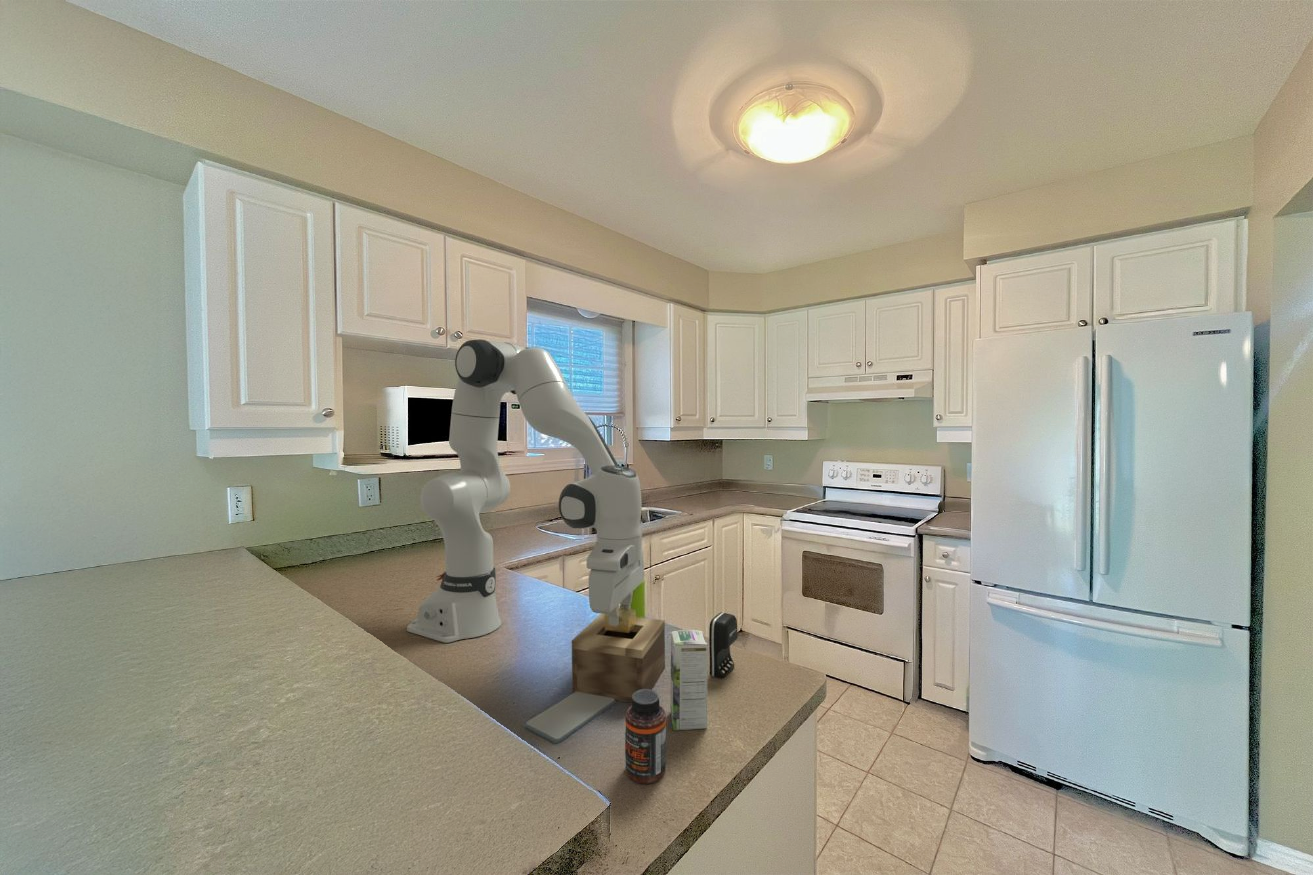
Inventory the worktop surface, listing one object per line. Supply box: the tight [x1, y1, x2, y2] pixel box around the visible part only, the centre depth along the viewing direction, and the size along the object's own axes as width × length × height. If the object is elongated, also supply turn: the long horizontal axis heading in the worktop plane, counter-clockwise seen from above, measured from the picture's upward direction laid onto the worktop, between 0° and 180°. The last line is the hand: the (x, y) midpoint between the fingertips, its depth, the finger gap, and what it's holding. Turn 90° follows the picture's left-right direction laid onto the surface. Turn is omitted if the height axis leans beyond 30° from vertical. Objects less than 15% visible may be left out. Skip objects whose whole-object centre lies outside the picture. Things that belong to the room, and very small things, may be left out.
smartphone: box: [524, 692, 617, 744], centre depth 88 cm, size 8×1×15 cm
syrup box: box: [669, 629, 709, 731], centre depth 86 cm, size 6×6×14 cm
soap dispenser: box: [619, 579, 646, 618], centre depth 121 cm, size 6×7×20 cm
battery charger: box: [708, 612, 739, 679], centre depth 102 cm, size 7×4×11 cm, turn 149°
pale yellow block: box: [605, 607, 636, 633], centre depth 99 cm, size 5×4×3 cm
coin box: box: [571, 613, 666, 704], centre depth 99 cm, size 14×14×10 cm
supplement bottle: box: [624, 689, 667, 785], centre depth 73 cm, size 6×6×11 cm
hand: (620, 619), depth 99 cm, fingers closed on pale yellow block, 4 cm apart
